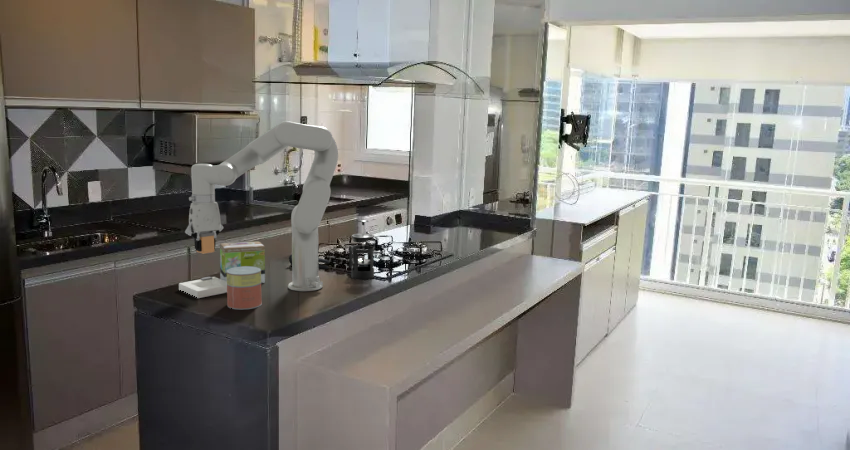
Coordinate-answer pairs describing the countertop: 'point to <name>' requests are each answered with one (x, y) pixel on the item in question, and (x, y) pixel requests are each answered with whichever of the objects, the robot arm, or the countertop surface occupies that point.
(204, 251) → the plug
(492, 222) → the countertop surface
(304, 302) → the countertop surface
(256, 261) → the tea box
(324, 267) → the can opener
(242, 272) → the canned food
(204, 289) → the socket plate
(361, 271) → the french press
